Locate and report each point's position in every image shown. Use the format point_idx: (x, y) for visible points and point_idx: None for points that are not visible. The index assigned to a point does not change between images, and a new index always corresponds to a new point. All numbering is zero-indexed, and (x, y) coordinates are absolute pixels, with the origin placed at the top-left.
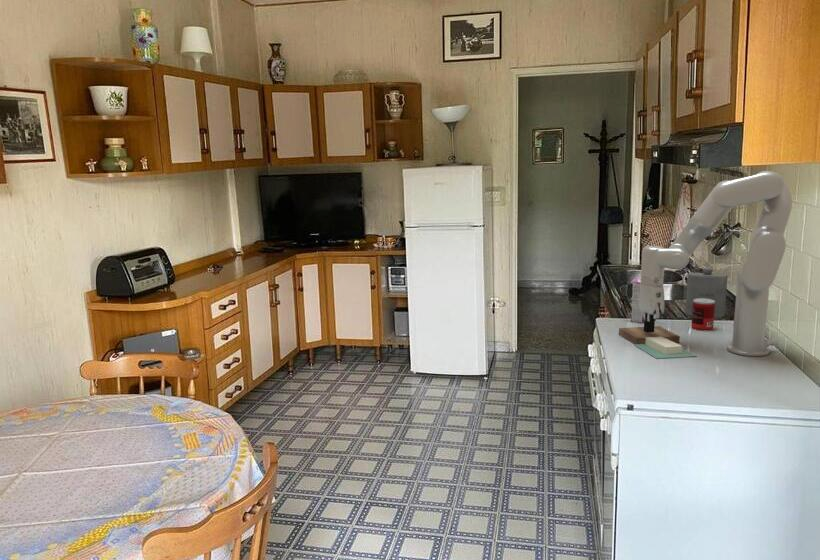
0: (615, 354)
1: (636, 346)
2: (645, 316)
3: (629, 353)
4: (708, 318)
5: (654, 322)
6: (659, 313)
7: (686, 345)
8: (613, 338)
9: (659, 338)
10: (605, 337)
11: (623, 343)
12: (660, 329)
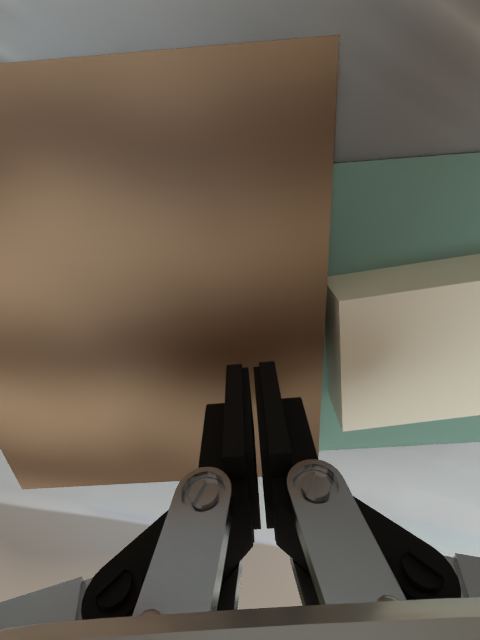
0: None
1: (344, 446)
2: (236, 603)
3: (446, 506)
4: None
5: (287, 439)
6: (466, 613)
7: (423, 18)
8: (147, 493)
9: (400, 343)
10: (126, 518)
11: (258, 479)
12: (4, 157)
